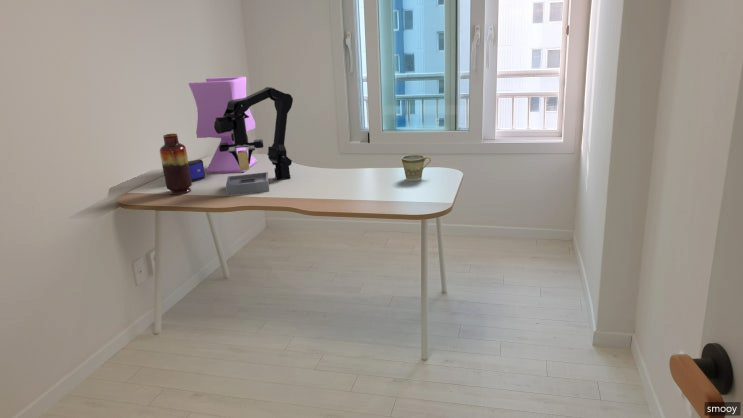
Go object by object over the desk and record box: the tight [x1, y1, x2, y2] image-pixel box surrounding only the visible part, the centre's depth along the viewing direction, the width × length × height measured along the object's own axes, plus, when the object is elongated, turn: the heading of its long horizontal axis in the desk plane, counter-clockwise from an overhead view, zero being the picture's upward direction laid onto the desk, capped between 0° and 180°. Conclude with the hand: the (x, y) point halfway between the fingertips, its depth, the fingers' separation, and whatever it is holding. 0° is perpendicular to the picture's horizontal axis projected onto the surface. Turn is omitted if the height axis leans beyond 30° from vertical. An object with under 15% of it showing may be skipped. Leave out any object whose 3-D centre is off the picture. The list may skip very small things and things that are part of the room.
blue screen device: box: [188, 159, 206, 183], centre depth 262 cm, size 16×5×9 cm, turn 123°
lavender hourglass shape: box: [188, 76, 258, 174], centre depth 276 cm, size 22×22×45 cm
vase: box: [159, 133, 193, 196], centre depth 242 cm, size 11×11×26 cm
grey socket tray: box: [225, 172, 270, 197], centre depth 244 cm, size 18×16×4 cm
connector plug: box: [238, 149, 250, 171], centre depth 241 cm, size 4×4×8 cm
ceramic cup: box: [401, 154, 431, 182], centre depth 242 cm, size 13×10×10 cm
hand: (244, 164), depth 242 cm, fingers closed on connector plug, 4 cm apart
